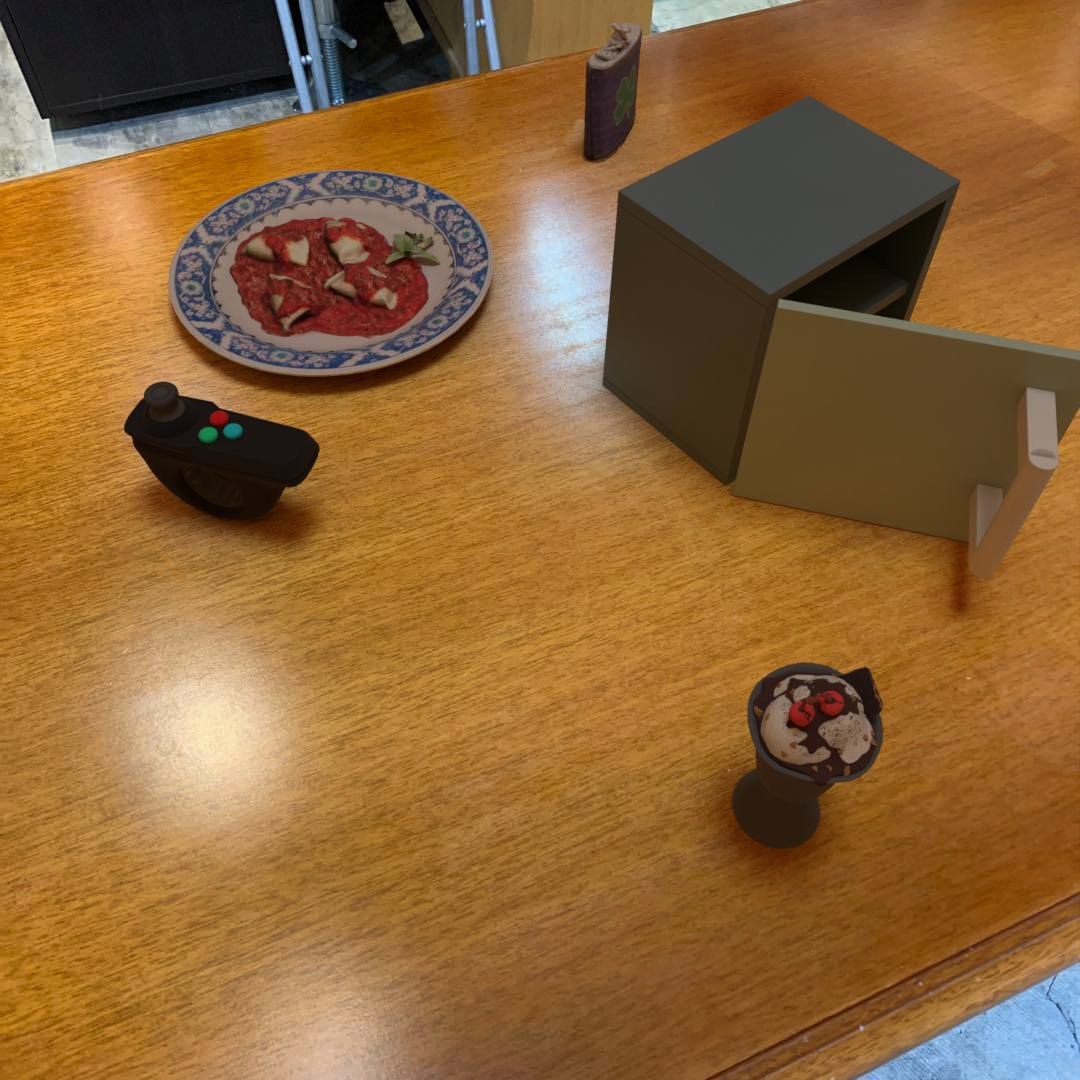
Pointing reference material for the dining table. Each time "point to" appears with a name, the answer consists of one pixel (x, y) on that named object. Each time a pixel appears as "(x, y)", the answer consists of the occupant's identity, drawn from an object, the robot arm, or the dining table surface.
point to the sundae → (805, 747)
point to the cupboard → (758, 263)
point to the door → (907, 425)
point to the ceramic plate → (330, 273)
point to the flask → (611, 92)
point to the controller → (218, 453)
